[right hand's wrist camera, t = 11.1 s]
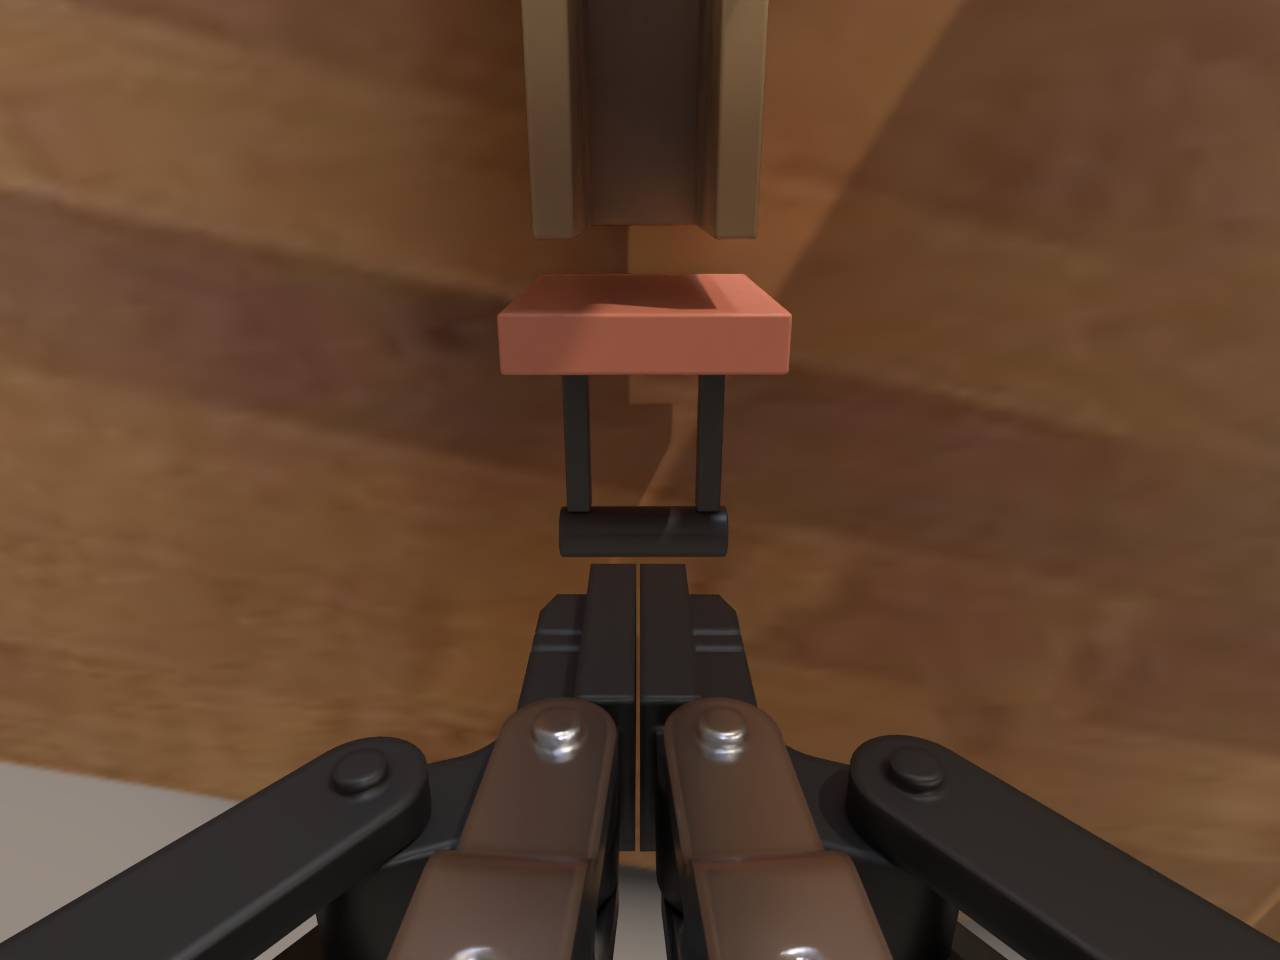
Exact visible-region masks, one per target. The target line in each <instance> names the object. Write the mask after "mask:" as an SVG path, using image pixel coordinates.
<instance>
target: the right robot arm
mask: <svg viewBox="0 0 1280 960" xmlns="http://www.w3.org/2000/svg"><path fill="white" fill-rule="evenodd" d="M635 775H636V564H591V567H590V575H589V583H588V591H587V594H557V595H556V596H555V597H554V598H553V599H552V600H551V601H550V602H549V603H548V604H547V605H546V606H545V607H544V608H543V609H542V610H541V611H540V614H539V618H538V623H537V627H536V634H535V635H534V640H533V644H532V652H530V657H529V661H528V665H527V669H526V674H525V678H524V682H523V687H522V691H521V695H520V699H519V704H518V708H517V711H516V712H514V713H513V714H512V715H511V716H510V717H509V718H508V719H507V720H506V721H505V723H504V724H503V726H502V728H501V730H500V732H499V735H498V738H497V740H495V741H494V742H492V743H491V744H489V745H488V746H486V747H484V748H482V749H480V750H478V751H475V752H473V753H470V754H467V755H464V756H460V757H457V758H453V759H448V760H444V761H440V762H435V763H431V764H427V762H426V759H425V756H424V755H423V753H422V752H421V750H420V749H419V748H417V747H416V746H415V745H413V744H411V743H410V742H408V741H405V740H402V739H399V738H392V737H369V738H363V739H358V740H354V741H351V742H348V743H345V744H342V745H340V746H337V747H335V748H333V749H331V750H329V751H328V752H326V753H324V754H322V755H321V756H319V757H317V758H315V759H314V760H312V761H310V762H309V763H307V764H305V765H304V766H302V767H300V768H298V769H297V770H295V771H293V772H292V773H290V774H288V775H286V776H285V777H283V778H281V779H280V780H278V781H276V782H275V783H273V784H271V785H269V786H268V787H266V788H264V789H263V790H261V791H259V792H258V793H256V794H254V795H252V796H251V797H249V798H247V799H246V800H244V801H242V802H240V803H239V804H237V805H235V806H234V807H232V808H230V809H229V810H227V811H225V812H223V813H222V814H220V815H218V816H217V817H215V818H213V819H211V820H210V821H208V822H206V823H205V824H203V825H201V826H200V827H198V828H196V829H194V830H193V831H191V832H189V833H188V834H186V835H184V836H182V837H181V838H179V839H177V840H176V841H174V842H172V843H171V844H169V845H167V846H165V847H164V848H162V849H160V850H159V851H157V852H155V853H153V854H152V855H150V856H148V857H147V858H145V859H143V860H142V861H140V862H138V863H137V864H135V865H133V866H131V867H130V868H128V869H126V870H125V871H123V872H121V873H119V874H118V875H116V876H114V877H113V878H111V879H109V880H107V881H106V882H104V883H102V884H101V885H99V886H97V887H96V888H94V889H92V890H90V891H89V892H87V893H85V894H84V895H82V896H80V897H78V898H77V899H75V900H73V901H72V902H70V903H68V904H67V905H65V906H63V907H61V908H60V909H58V910H56V911H55V912H53V913H51V914H49V915H48V916H46V917H44V918H43V919H41V920H39V921H38V922H36V923H34V924H32V925H31V926H29V927H27V928H26V929H24V930H22V931H21V932H19V933H17V934H15V935H14V936H12V937H10V938H9V939H7V940H5V941H4V942H2V943H0V960H254V959H255V958H256V957H258V956H259V955H261V954H262V953H263V952H265V951H266V950H267V949H269V948H270V947H271V946H273V945H274V944H275V943H277V942H278V941H279V940H281V939H282V938H283V937H285V936H286V935H287V934H289V933H290V932H291V931H293V930H294V929H295V928H297V927H298V926H299V925H301V924H302V923H303V922H305V921H306V920H307V919H309V918H310V917H311V916H313V915H314V914H316V917H317V922H318V925H317V926H316V927H315V928H313V929H312V930H311V931H309V932H308V933H307V934H305V935H304V936H303V937H301V938H300V939H299V940H297V941H296V942H295V943H293V944H292V945H291V946H289V947H288V948H287V949H285V950H284V951H283V952H282V953H280V954H279V955H278V956H276V957H275V958H274V959H272V960H613V953H614V944H615V936H616V927H617V918H618V906H619V899H618V865H619V851H635ZM640 851H656V875H657V882H658V885H659V888H660V890H661V892H662V900H661V906H662V918H663V927H664V936H665V944H666V953H667V960H1008V959H1006V958H1005V957H1004V956H1002V955H1001V954H1000V953H998V952H997V951H996V950H994V949H993V948H992V947H990V946H989V945H988V944H987V943H985V942H984V941H983V940H981V939H980V938H979V937H977V936H976V935H975V934H973V933H972V932H971V931H969V930H968V929H967V928H965V927H964V926H963V925H962V924H960V923H959V922H958V921H957V918H958V913H959V910H960V911H962V912H963V913H964V914H966V915H967V916H968V917H970V918H971V919H973V920H974V921H975V922H977V923H978V924H979V925H981V926H982V927H983V928H985V929H986V930H987V931H989V932H990V933H991V934H993V935H994V936H995V937H997V938H998V939H999V940H1001V941H1002V942H1003V943H1005V944H1006V945H1007V946H1009V947H1010V948H1011V949H1013V950H1014V951H1015V952H1017V953H1018V954H1019V955H1021V956H1022V957H1024V958H1025V959H1026V960H1280V943H1278V942H1277V941H1275V940H1273V939H1271V938H1270V937H1268V936H1266V935H1265V934H1263V933H1261V932H1259V931H1258V930H1256V929H1254V928H1253V927H1251V926H1249V925H1248V924H1246V923H1244V922H1242V921H1241V920H1239V919H1237V918H1236V917H1234V916H1232V915H1230V914H1229V913H1227V912H1225V911H1224V910H1222V909H1220V908H1219V907H1217V906H1215V905H1213V904H1212V903H1210V902H1208V901H1207V900H1205V899H1203V898H1201V897H1200V896H1198V895H1196V894H1195V893H1193V892H1191V891H1190V890H1188V889H1186V888H1184V887H1183V886H1181V885H1179V884H1178V883H1176V882H1174V881H1173V880H1171V879H1169V878H1167V877H1166V876H1164V875H1162V874H1161V873H1159V872H1157V871H1155V870H1154V869H1152V868H1150V867H1149V866H1147V865H1145V864H1144V863H1142V862H1140V861H1138V860H1137V859H1135V858H1133V857H1132V856H1130V855H1128V854H1126V853H1125V852H1123V851H1121V850H1120V849H1118V848H1116V847H1115V846H1113V845H1111V844H1109V843H1108V842H1106V841H1104V840H1103V839H1101V838H1099V837H1097V836H1096V835H1094V834H1092V833H1091V832H1089V831H1087V830H1086V829H1084V828H1082V827H1080V826H1079V825H1077V824H1075V823H1074V822H1072V821H1070V820H1069V819H1067V818H1065V817H1063V816H1062V815H1060V814H1058V813H1057V812H1055V811H1053V810H1051V809H1050V808H1048V807H1046V806H1045V805H1043V804H1041V803H1040V802H1038V801H1036V800H1034V799H1033V798H1031V797H1029V796H1028V795H1026V794H1024V793H1022V792H1021V791H1019V790H1017V789H1016V788H1014V787H1012V786H1011V785H1009V784H1007V783H1005V782H1004V781H1002V780H1000V779H999V778H997V777H995V776H993V775H992V774H990V773H988V772H987V771H985V770H983V769H982V768H980V767H978V766H976V765H975V764H973V763H971V762H970V761H968V760H966V759H965V758H963V757H961V756H959V755H958V754H956V753H954V752H953V751H951V750H949V749H947V748H945V747H943V746H941V745H939V744H937V743H934V742H931V741H929V740H925V739H922V738H918V737H912V736H905V735H887V736H881V737H876V738H873V739H870V740H868V741H866V742H864V743H863V744H861V745H860V746H859V747H858V748H857V749H856V750H855V752H854V753H853V755H852V758H851V761H850V765H846V764H842V763H838V762H834V761H829V760H825V759H821V758H817V757H813V756H810V755H806V754H804V753H801V752H799V751H796V750H794V749H792V748H790V747H788V746H786V745H785V743H784V740H783V738H782V735H781V732H780V730H779V728H778V726H777V724H776V723H775V721H774V720H773V719H772V718H771V717H770V716H769V715H768V714H767V713H766V712H764V711H763V710H761V709H760V708H758V707H757V704H756V699H755V695H754V690H753V686H752V682H751V677H750V673H749V668H748V664H747V659H746V655H745V652H744V646H743V642H742V637H741V635H740V628H739V624H738V619H737V615H736V611H735V610H734V609H733V608H732V607H731V606H730V605H729V604H728V603H727V602H726V601H725V600H724V599H723V598H722V597H721V596H720V595H689V593H688V584H687V576H686V567H685V564H640Z"/></svg>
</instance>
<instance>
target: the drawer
mask: <svg viewBox="0 0 1280 960" xmlns="http://www.w3.org/2000/svg"><path fill="white" fill-rule="evenodd" d="M768 5H769V0H521V9H522V30H523V51H524V72H525V92H526V113H527V134H528V155H529V176H530V197H531V218H532V235H533V237H534V239H536V240H571V239H574V238H575V237H576V236H577V235H579V234H580V233H581V232H582V231H584V230H585V229H586V228H587V227H588V226H590V225H697V226H698V227H700V228H701V229H702V230H704V231H705V232H707V233H708V234H710V235H711V236H712V237H714V238H715V239H718V240H753V239H756V236H757V225H758V205H759V185H760V165H761V145H762V125H763V105H764V85H765V65H766V45H767V25H768ZM497 325H498V340H499V356H500V371H501V373H502V374H503V375H562V380H563V407H564V434H565V462H566V489H567V506H563V507H562V508H561V510H560V518H559V547H560V554H561V556H562V557H725V556H726V554H727V549H728V517H727V510H726V508H725V507H724V506H720V490H721V464H722V438H723V412H724V386H725V375H785V374H787V373H788V371H789V357H790V342H791V328H792V315H791V314H790V313H789V312H788V311H787V310H786V309H785V308H783V307H782V306H781V305H780V304H779V303H777V302H776V301H775V300H774V299H773V298H772V297H770V296H769V295H768V294H767V293H766V292H764V291H763V290H762V289H761V288H760V287H759V286H757V285H756V284H755V283H754V282H753V281H752V280H750V279H749V278H748V277H747V276H746V275H744V274H542V275H541V276H540V277H538V278H537V279H536V280H535V281H534V282H533V283H532V284H531V285H530V286H529V287H528V288H526V289H525V290H524V291H523V292H522V293H521V294H520V295H519V296H518V297H517V298H515V299H514V300H513V301H512V302H511V303H510V304H509V305H508V306H507V307H506V308H505V309H503V310H502V311H501V312H500V313H499V314H498V316H497ZM589 375H698V412H697V451H696V489H695V504H696V506H591V505H592V491H591V451H590V410H589Z"/></svg>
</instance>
